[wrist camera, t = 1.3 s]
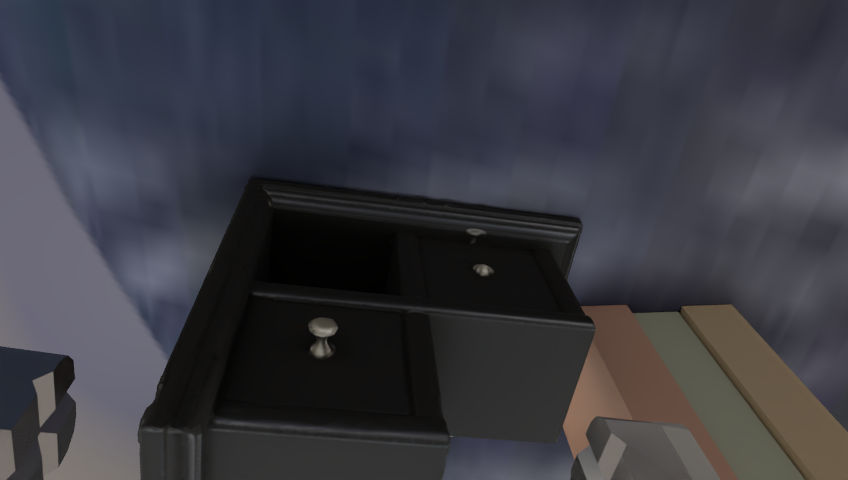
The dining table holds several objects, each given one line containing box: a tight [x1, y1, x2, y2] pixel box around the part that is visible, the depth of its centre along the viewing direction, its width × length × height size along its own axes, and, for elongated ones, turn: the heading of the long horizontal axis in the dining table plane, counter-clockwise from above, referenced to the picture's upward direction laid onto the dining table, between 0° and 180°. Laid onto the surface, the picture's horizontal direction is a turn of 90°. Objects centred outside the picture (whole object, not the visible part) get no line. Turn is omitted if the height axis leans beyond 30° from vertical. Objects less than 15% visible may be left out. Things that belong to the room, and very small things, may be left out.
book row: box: [563, 304, 848, 480], centre depth 42 cm, size 12×12×23 cm
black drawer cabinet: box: [138, 179, 596, 480], centre depth 36 cm, size 23×11×24 cm, turn 80°
